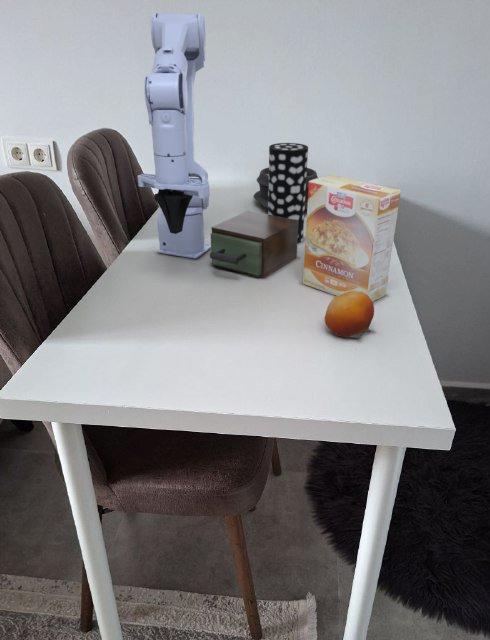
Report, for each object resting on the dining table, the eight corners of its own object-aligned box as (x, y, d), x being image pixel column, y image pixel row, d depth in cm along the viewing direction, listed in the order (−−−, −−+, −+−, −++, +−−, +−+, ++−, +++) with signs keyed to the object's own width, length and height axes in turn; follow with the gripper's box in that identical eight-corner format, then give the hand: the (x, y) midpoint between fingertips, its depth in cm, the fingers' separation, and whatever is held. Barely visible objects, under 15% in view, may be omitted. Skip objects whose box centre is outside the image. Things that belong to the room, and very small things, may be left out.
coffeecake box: (301, 284, 112) (307, 180, 101) (323, 273, 116) (331, 173, 105) (364, 307, 103) (379, 197, 92) (386, 295, 108) (402, 188, 96)
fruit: (372, 342, 90) (352, 296, 87) (331, 353, 95) (311, 309, 93) (390, 322, 95) (372, 278, 93) (350, 333, 100) (332, 292, 98)
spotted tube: (262, 242, 131) (263, 148, 120) (274, 231, 138) (277, 141, 126) (296, 247, 129) (301, 152, 117) (307, 235, 135) (313, 144, 124)
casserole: (322, 218, 146) (325, 184, 141) (250, 216, 147) (250, 182, 142) (319, 192, 166) (322, 161, 161) (256, 190, 167) (256, 160, 162)
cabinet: (264, 278, 114) (264, 238, 109) (212, 265, 119) (211, 227, 115) (296, 257, 123) (298, 220, 119) (247, 246, 129) (247, 210, 124)
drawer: (246, 282, 110) (247, 251, 106) (199, 270, 115) (197, 239, 111) (289, 256, 121) (290, 227, 118) (244, 246, 126) (244, 217, 123)
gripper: (122, 152, 98) (131, 230, 106) (190, 163, 92) (194, 245, 99) (149, 145, 103) (156, 220, 111) (215, 155, 96) (217, 234, 104)
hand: (176, 232), depth 105 cm, fingers closed
